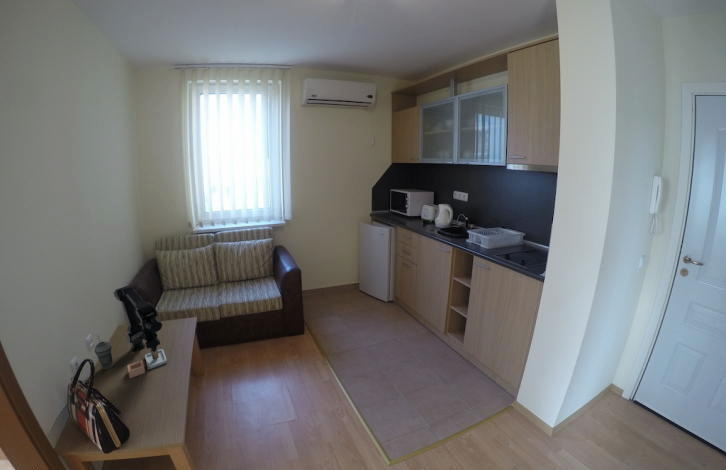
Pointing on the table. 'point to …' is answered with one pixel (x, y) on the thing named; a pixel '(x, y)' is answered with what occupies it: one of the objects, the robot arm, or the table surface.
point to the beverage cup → (104, 354)
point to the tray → (155, 362)
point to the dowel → (154, 354)
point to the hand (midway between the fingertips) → (153, 350)
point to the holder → (136, 369)
